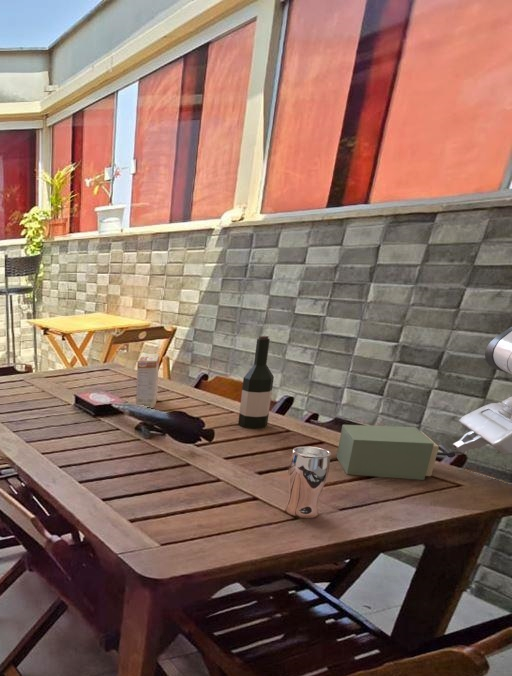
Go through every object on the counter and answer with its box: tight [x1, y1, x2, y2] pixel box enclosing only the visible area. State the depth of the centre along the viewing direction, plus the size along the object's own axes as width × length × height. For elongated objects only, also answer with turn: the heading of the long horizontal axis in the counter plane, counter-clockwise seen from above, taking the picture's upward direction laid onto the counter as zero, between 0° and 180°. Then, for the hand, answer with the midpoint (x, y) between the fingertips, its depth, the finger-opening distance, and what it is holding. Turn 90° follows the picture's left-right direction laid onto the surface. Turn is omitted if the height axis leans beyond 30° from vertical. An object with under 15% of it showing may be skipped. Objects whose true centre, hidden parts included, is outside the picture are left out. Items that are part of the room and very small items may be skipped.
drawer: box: [419, 430, 456, 477], centre depth 125 cm, size 18×11×8 cm, turn 61°
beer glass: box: [284, 445, 332, 519], centre depth 110 cm, size 7×7×15 cm
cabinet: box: [335, 424, 434, 481], centre depth 127 cm, size 15×13×10 cm
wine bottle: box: [237, 335, 275, 430], centre depth 162 cm, size 8×8×30 cm
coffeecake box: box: [135, 353, 160, 408], centre depth 200 cm, size 15×7×20 cm, turn 150°
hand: (456, 448), depth 119 cm, fingers closed
